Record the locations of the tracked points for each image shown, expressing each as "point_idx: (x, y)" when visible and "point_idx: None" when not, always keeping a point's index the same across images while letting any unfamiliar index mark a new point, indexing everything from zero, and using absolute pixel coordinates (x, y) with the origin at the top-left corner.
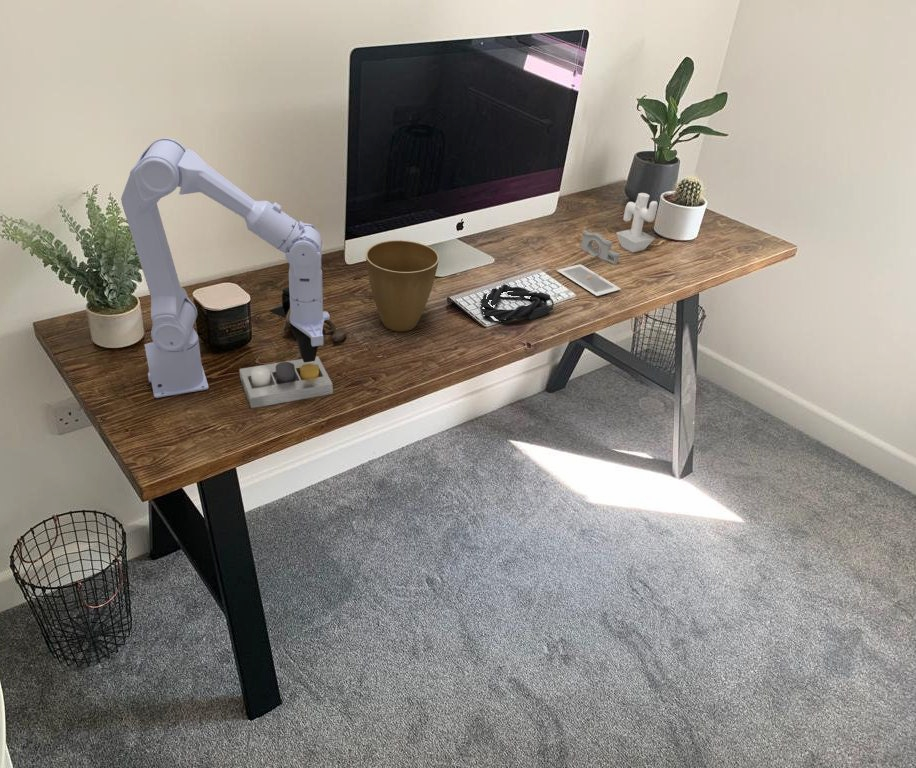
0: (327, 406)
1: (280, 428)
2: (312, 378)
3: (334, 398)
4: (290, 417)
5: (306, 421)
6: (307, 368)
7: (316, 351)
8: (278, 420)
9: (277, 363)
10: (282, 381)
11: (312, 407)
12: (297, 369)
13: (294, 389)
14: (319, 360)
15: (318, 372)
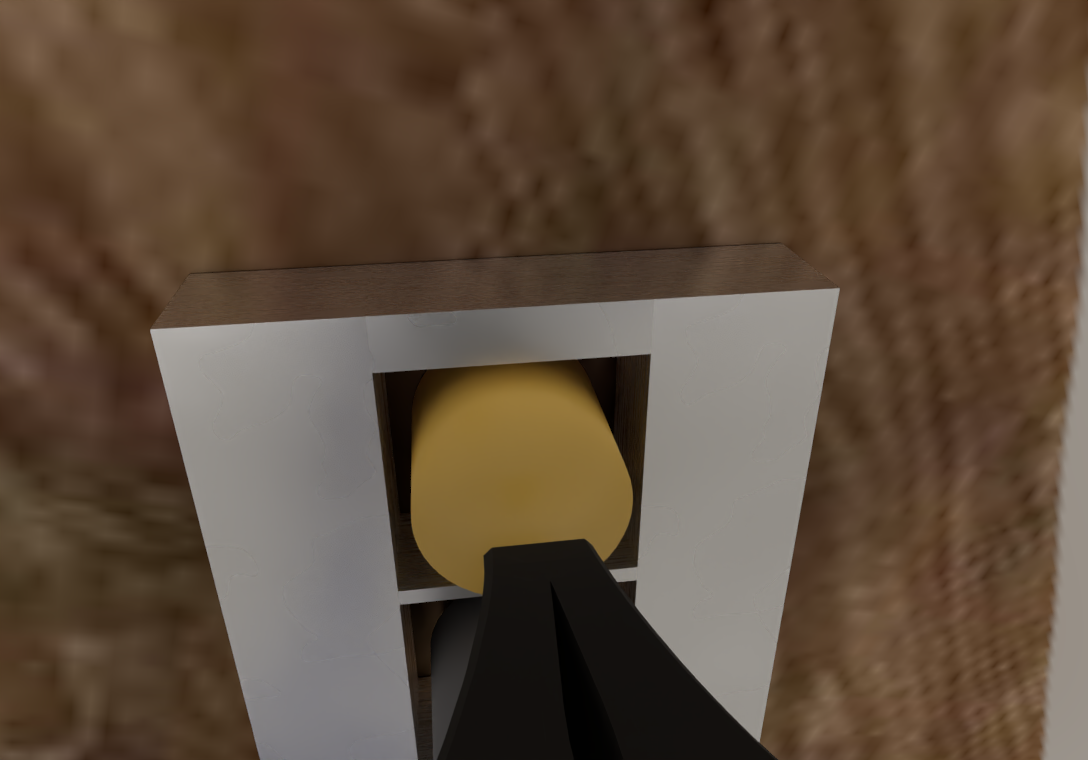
0: (942, 334)
1: (997, 662)
2: (645, 467)
3: (860, 244)
4: (922, 602)
5: (1027, 514)
6: (521, 530)
7: (659, 644)
8: (911, 667)
9: (262, 722)
10: None
11: (889, 450)
12: (396, 563)
13: (765, 631)
14: (269, 331)
15: (565, 398)
